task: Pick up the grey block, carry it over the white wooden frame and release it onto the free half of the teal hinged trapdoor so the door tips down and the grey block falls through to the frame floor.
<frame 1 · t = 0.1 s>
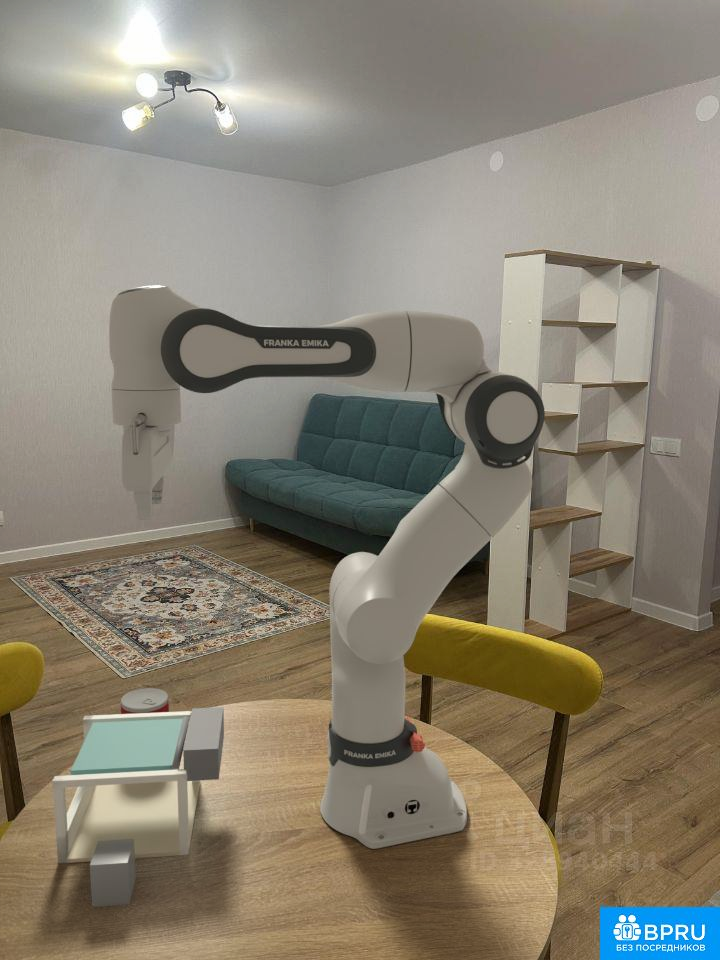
hand: (151, 510, 101), 48 cm above the table, fingers open, 8 cm apart
trapdoor: (152, 744, 109), point 12 cm above the table, hinge at 0.0°
grey block: (114, 892, 96), on the table
canned food: (147, 757, 127), on the table
frame: (135, 818, 111), on the table
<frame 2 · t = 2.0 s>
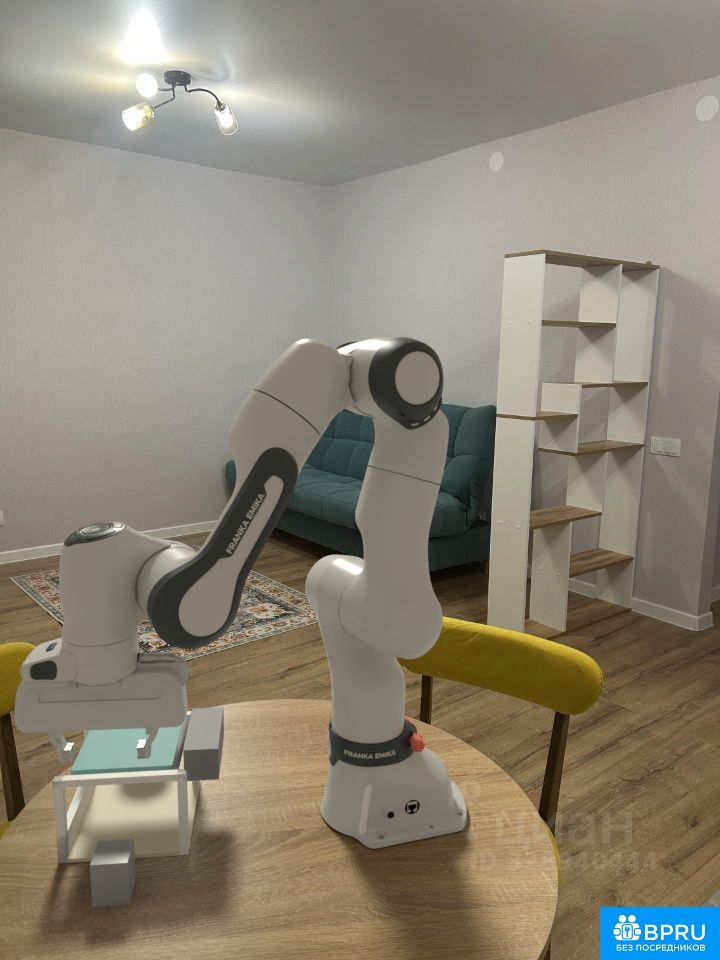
hand: (105, 758, 92), 19 cm above the table, fingers open, 8 cm apart
nothing on the table moved.
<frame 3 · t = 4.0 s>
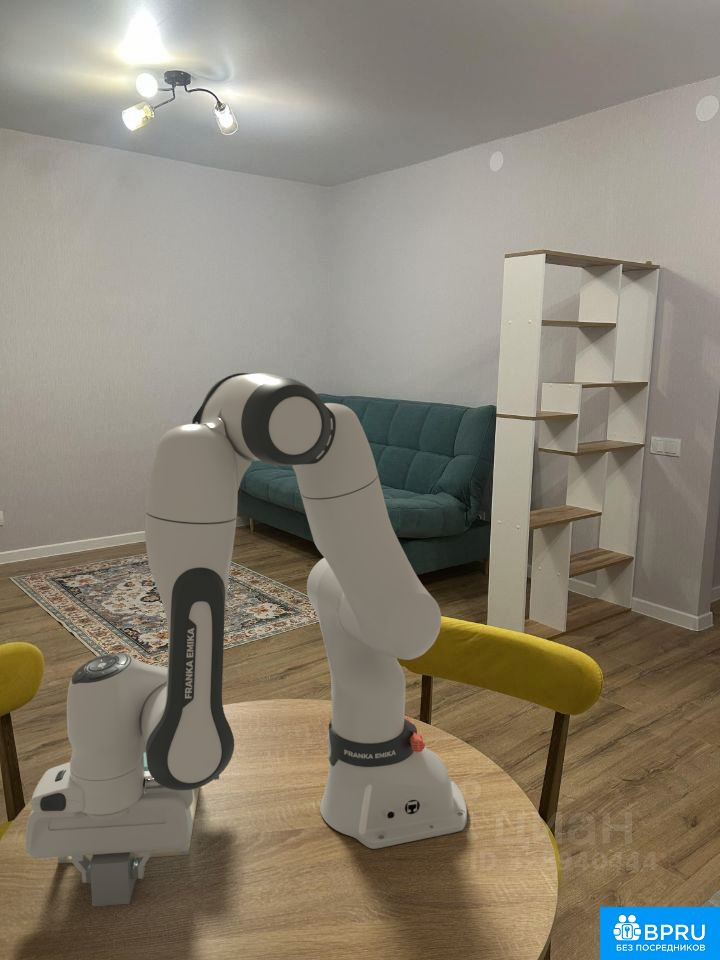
hand: (113, 877, 96), 2 cm above the table, fingers closed on grey block, 5 cm apart
grey block: (114, 891, 96), on the table, touching gripper
everything else where it was.
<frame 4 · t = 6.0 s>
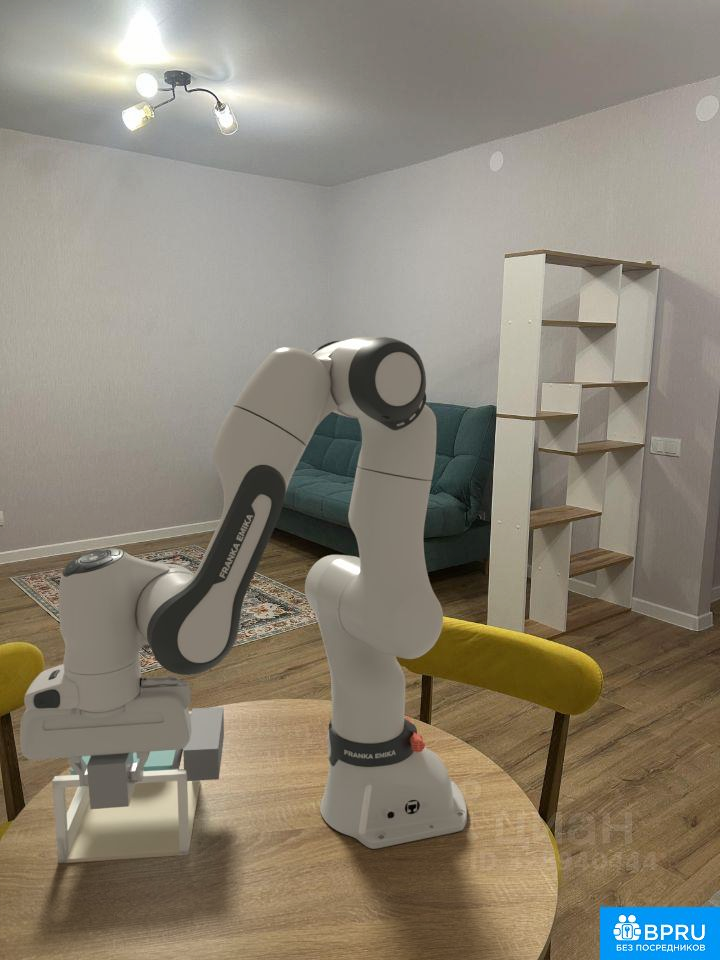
hand: (112, 781, 93), 16 cm above the table, fingers closed on grey block, 5 cm apart
grey block: (113, 796, 94), point 14 cm above the table, touching gripper
everything else where it was.
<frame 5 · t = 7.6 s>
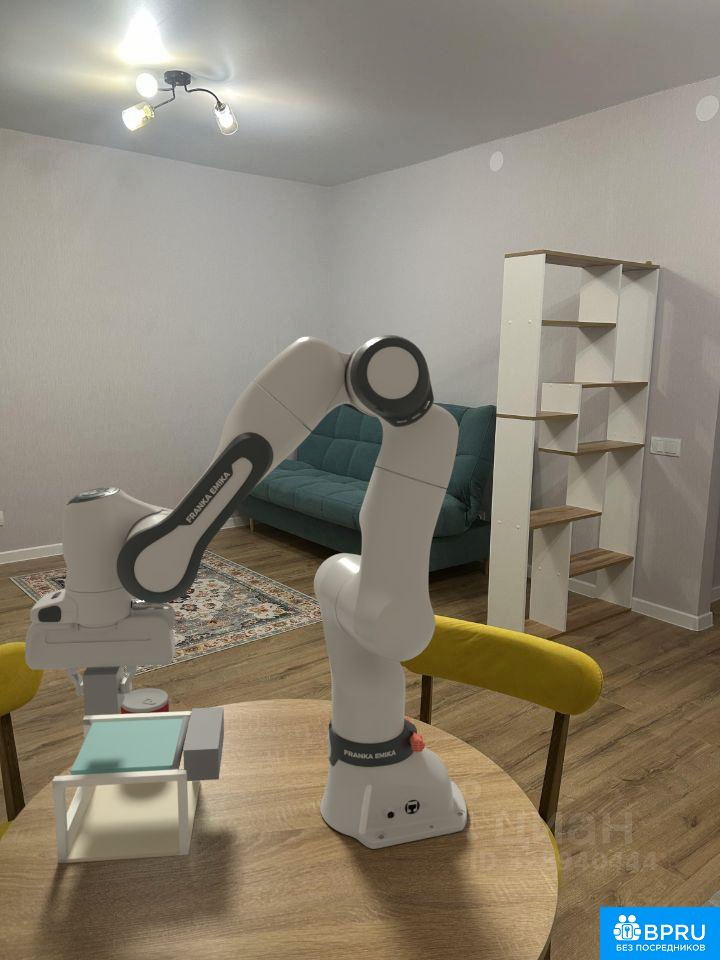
hand: (104, 693, 106), 21 cm above the table, fingers closed on grey block, 5 cm apart
grey block: (105, 706, 107), point 19 cm above the table, touching gripper
everything else where it was.
when the fingers open (18 cm above the table, at t = 8.3 s): grey block drops 10 cm and tips over, resting on trapdoor.
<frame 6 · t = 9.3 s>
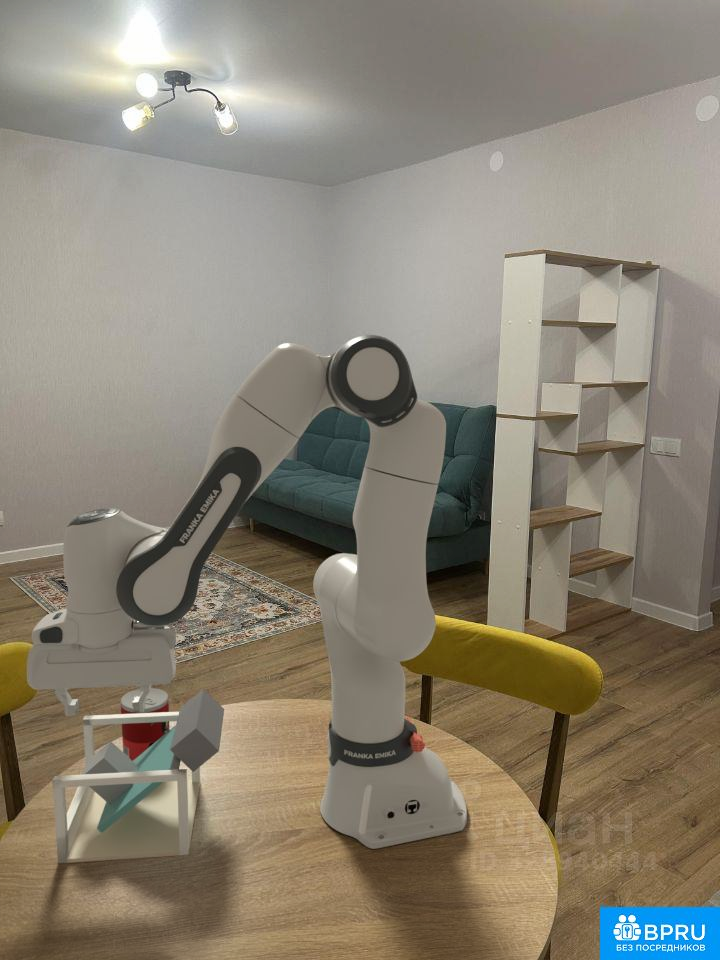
hand: (105, 712, 107), 18 cm above the table, fingers open, 8 cm apart
trapdoor: (159, 760, 109), point 9 cm above the table, hinge at -40.3°, touching grey block
grey block: (124, 785, 109), point 6 cm above the table, tilted 41°, touching trapdoor
everything else where it was.
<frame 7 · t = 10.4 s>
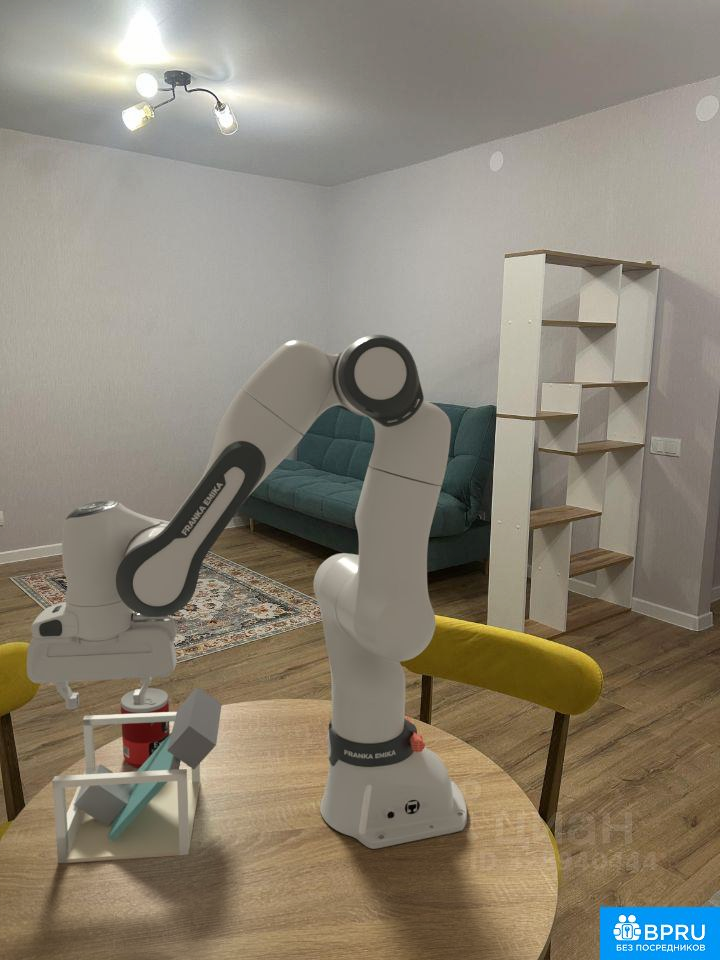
hand: (106, 705, 107), 19 cm above the table, fingers open, 8 cm apart
trapdoor: (162, 762, 109), point 9 cm above the table, hinge at -49.0°, touching grey block
grey block: (120, 805, 110), point 2 cm above the table, tilted 50°, touching frame, trapdoor
everything else where it was.
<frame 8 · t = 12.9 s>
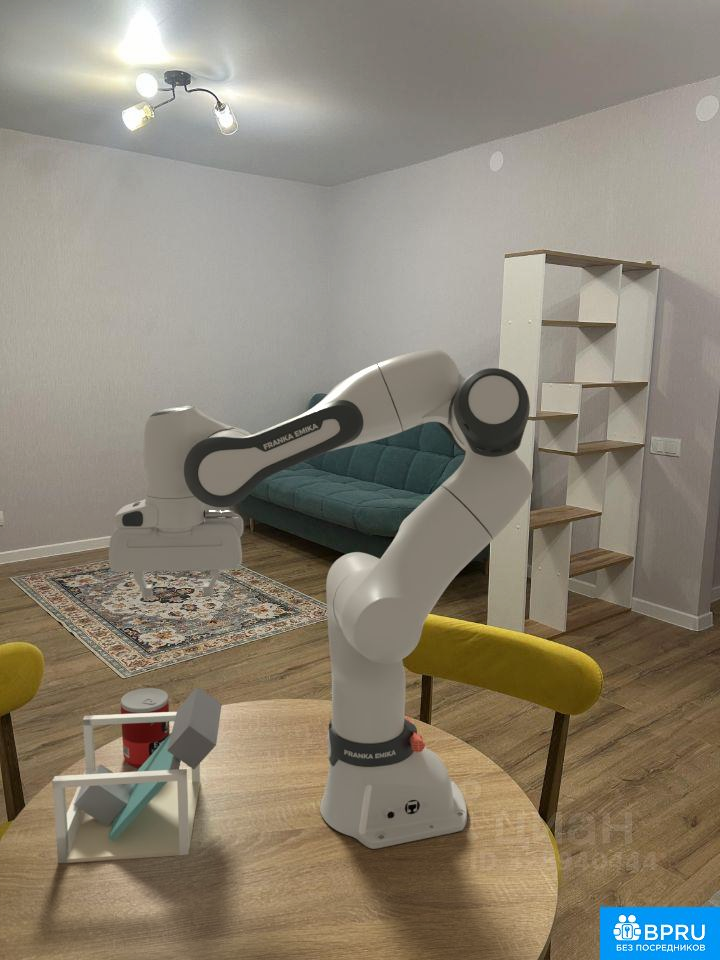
hand: (178, 596, 116), 31 cm above the table, fingers open, 8 cm apart
nothing on the table moved.
at the end: grey block point 2.4 cm above the table; grey block inside the target area on the frame (1.6 cm from its centre), point 2.4 cm above the frame's base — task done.
